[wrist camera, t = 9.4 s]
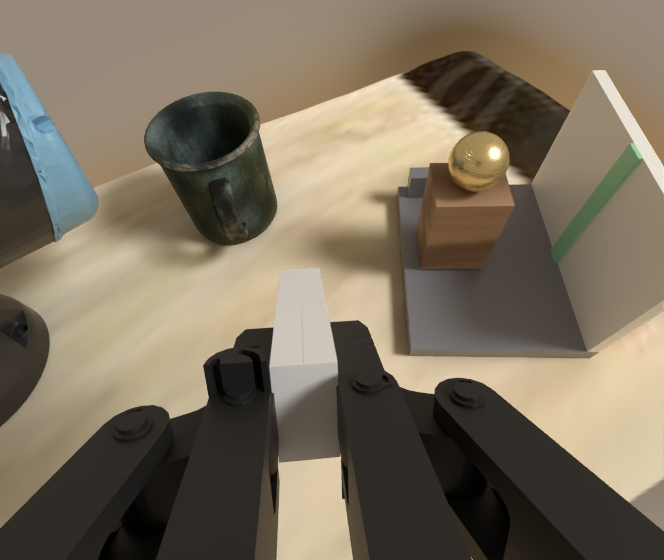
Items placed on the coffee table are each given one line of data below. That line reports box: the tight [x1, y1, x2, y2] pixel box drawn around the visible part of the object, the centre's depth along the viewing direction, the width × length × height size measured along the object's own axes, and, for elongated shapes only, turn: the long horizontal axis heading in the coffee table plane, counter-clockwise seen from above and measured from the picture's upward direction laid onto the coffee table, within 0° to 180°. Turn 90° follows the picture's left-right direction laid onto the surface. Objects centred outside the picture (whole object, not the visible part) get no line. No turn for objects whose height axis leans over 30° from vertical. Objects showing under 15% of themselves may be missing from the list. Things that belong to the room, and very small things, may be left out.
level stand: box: [397, 70, 664, 358], centre depth 33 cm, size 20×16×14 cm
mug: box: [144, 92, 277, 244], centre depth 39 cm, size 11×15×12 cm
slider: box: [416, 132, 515, 269], centre depth 32 cm, size 5×6×13 cm
